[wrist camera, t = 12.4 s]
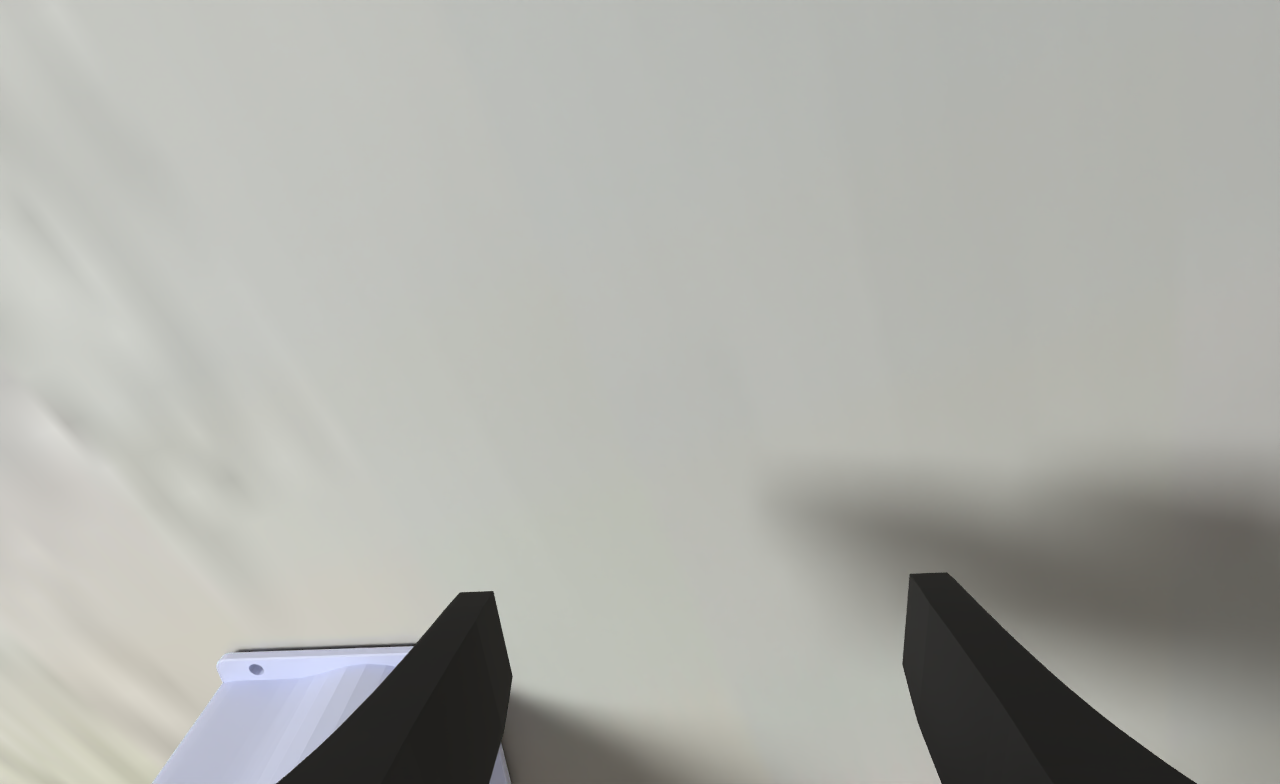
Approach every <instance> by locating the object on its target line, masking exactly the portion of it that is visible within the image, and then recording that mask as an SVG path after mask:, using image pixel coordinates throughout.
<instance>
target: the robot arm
mask: <svg viewBox="0 0 1280 784" xmlns="http://www.w3.org/2000/svg"><path fill="white" fill-rule="evenodd" d="M216 667H217V671H218V673H219V675H220V678H221V680H222V682H223V683H222V685H221V686H220V687H219V689H218V690H217V692H216V693H215V694H214V696H213V697H212V699H211V700H210V702H209V703H208V704H207V706H206V707H205V709H204V710H203V711H202V713H201V714H200V716H199V717H198V719H197V720H196V721H195V723H194V724H193V726H192V727H191V728H190V730H189V731H188V733H187V734H186V736H185V737H184V738H183V740H182V741H181V743H180V744H179V746H178V747H177V748H176V750H175V751H174V753H173V754H172V755H171V757H170V758H169V760H168V761H167V763H166V764H165V765H164V767H163V768H162V770H161V771H160V772H159V774H158V775H157V777H156V778H155V780H154V781H153V782H152V784H511V780H510V776H509V772H508V768H507V764H506V760H505V756H504V752H503V748H502V744H501V740H502V736H503V732H504V727H505V721H506V715H507V709H508V703H509V696H510V690H511V683H512V672H511V668H510V663H509V659H508V654H507V650H506V646H505V641H504V637H503V632H502V628H501V623H500V619H499V614H498V610H497V606H496V601H495V597H494V592H493V591H486V592H461V593H459V594H458V595H457V596H456V597H455V598H454V600H453V601H452V602H451V603H450V604H449V605H448V606H447V608H446V609H445V610H444V611H443V612H442V614H441V615H440V616H439V617H438V618H437V619H436V621H435V622H434V623H433V624H432V625H431V627H430V628H429V629H428V630H427V631H426V633H425V634H424V635H423V636H422V637H421V638H420V640H419V641H418V642H417V643H416V644H415V645H414V646H404V647H376V648H348V649H319V650H291V651H263V652H235V653H226V654H224V655H223V656H222V657H221V658H220V660H219V661H218V663H217V665H216ZM903 668H904V672H905V676H906V680H907V684H908V688H909V692H910V696H911V699H912V703H913V706H914V710H915V714H916V717H917V721H918V724H919V727H920V729H921V732H922V734H923V737H924V740H925V742H926V745H927V747H928V750H929V752H930V755H931V758H932V760H933V763H934V765H935V768H936V770H937V773H938V775H939V778H940V780H941V783H942V784H1197V783H1195V782H1194V781H1192V780H1191V779H1189V778H1188V777H1186V776H1185V775H1183V774H1182V773H1180V772H1179V771H1177V770H1176V769H1174V768H1173V767H1171V766H1170V765H1168V764H1167V763H1166V762H1164V761H1163V760H1161V759H1160V758H1159V757H1157V756H1156V755H1154V754H1153V753H1152V752H1150V751H1149V750H1148V749H1146V748H1145V747H1143V746H1142V745H1141V744H1139V743H1138V742H1137V741H1135V740H1134V739H1133V738H1131V737H1130V736H1128V735H1127V734H1126V733H1124V732H1123V731H1122V730H1120V729H1119V728H1118V727H1116V726H1115V725H1114V724H1112V723H1111V722H1110V721H1109V720H1107V719H1106V718H1105V717H1103V716H1102V715H1101V714H1100V713H1098V712H1097V711H1096V710H1095V709H1093V708H1092V707H1091V706H1090V705H1089V704H1087V703H1086V702H1085V701H1084V700H1083V699H1081V698H1080V697H1079V696H1078V695H1077V694H1075V693H1074V692H1073V691H1072V690H1071V689H1069V688H1068V687H1067V686H1066V685H1065V684H1064V683H1063V682H1061V681H1060V680H1059V679H1058V678H1057V677H1056V676H1055V675H1053V674H1052V673H1051V672H1050V671H1049V670H1048V669H1047V668H1046V667H1045V666H1043V665H1042V664H1041V663H1040V662H1039V661H1038V660H1037V659H1036V658H1035V657H1034V656H1033V655H1031V654H1030V653H1029V652H1028V651H1027V650H1026V649H1025V648H1024V647H1023V646H1022V645H1021V644H1019V643H1018V642H1017V641H1016V640H1015V639H1014V638H1013V637H1012V636H1011V635H1010V634H1009V633H1008V632H1007V631H1006V630H1005V629H1004V628H1003V627H1002V626H1001V625H1000V624H999V623H998V622H997V621H996V620H995V619H994V618H993V617H992V616H991V615H990V614H988V613H987V612H986V611H985V610H984V609H983V608H982V607H981V606H980V605H979V604H978V603H977V602H976V601H975V599H974V598H973V597H972V596H971V595H970V594H969V593H968V592H967V591H966V590H965V589H964V588H963V587H962V586H961V585H960V584H959V583H958V582H957V581H956V580H955V579H954V578H952V577H951V576H950V575H949V574H948V573H947V572H946V573H922V574H910V578H909V590H908V602H907V615H906V627H905V639H904V652H903Z"/></svg>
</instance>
